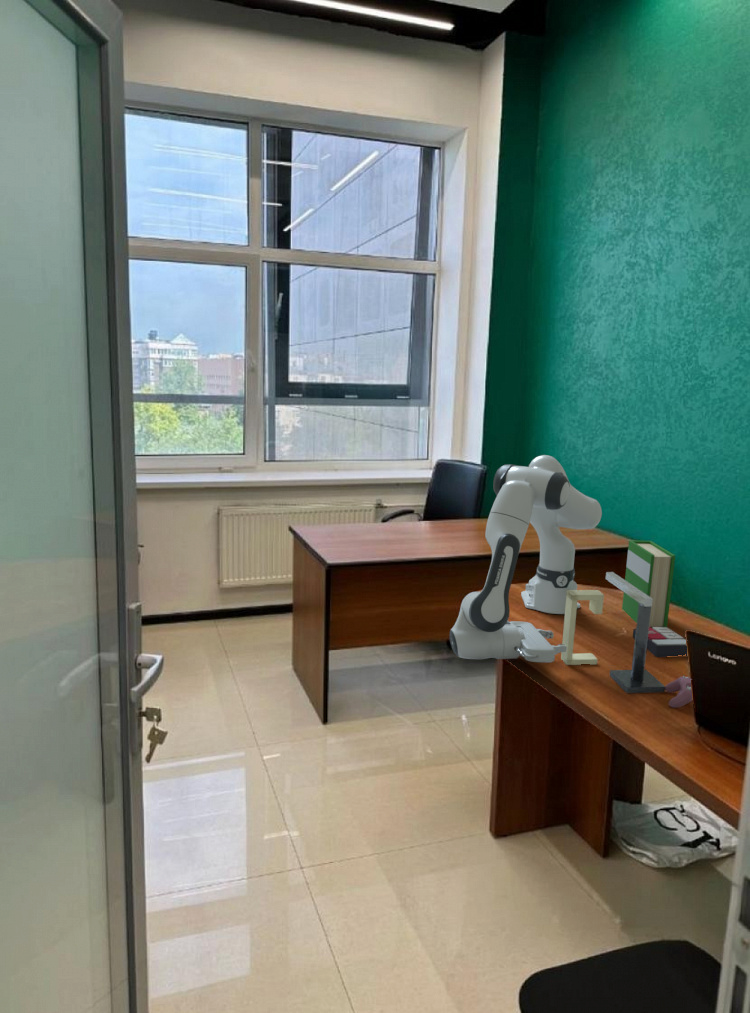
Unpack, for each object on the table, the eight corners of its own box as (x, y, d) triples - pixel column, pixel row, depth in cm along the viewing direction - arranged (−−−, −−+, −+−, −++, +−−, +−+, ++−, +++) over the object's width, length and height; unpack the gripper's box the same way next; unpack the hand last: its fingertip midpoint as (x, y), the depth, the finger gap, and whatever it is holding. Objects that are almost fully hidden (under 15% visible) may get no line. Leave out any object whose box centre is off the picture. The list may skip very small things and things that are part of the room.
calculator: (667, 625, 212) (694, 642, 198) (666, 639, 213) (693, 657, 198) (632, 626, 211) (657, 643, 197) (631, 639, 212) (656, 657, 197)
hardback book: (666, 629, 218) (675, 555, 213) (643, 629, 218) (651, 555, 213) (643, 609, 236) (651, 540, 231) (621, 609, 235) (629, 540, 230)
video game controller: (684, 716, 167) (702, 694, 165) (667, 705, 168) (684, 683, 166) (679, 698, 176) (695, 676, 174) (662, 688, 177) (678, 666, 175)
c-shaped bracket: (560, 658, 194) (566, 590, 190) (591, 658, 195) (597, 589, 191) (566, 665, 190) (572, 595, 186) (597, 664, 191) (603, 594, 187)
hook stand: (585, 650, 200) (592, 572, 195) (618, 650, 201) (626, 571, 196) (626, 693, 175) (636, 603, 170) (664, 692, 176) (675, 603, 171)
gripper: (522, 646, 178) (574, 645, 180) (499, 617, 198) (546, 617, 200) (521, 669, 180) (572, 668, 181) (498, 638, 199) (545, 637, 201)
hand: (559, 641), depth 191 cm, fingers open, 8 cm apart
